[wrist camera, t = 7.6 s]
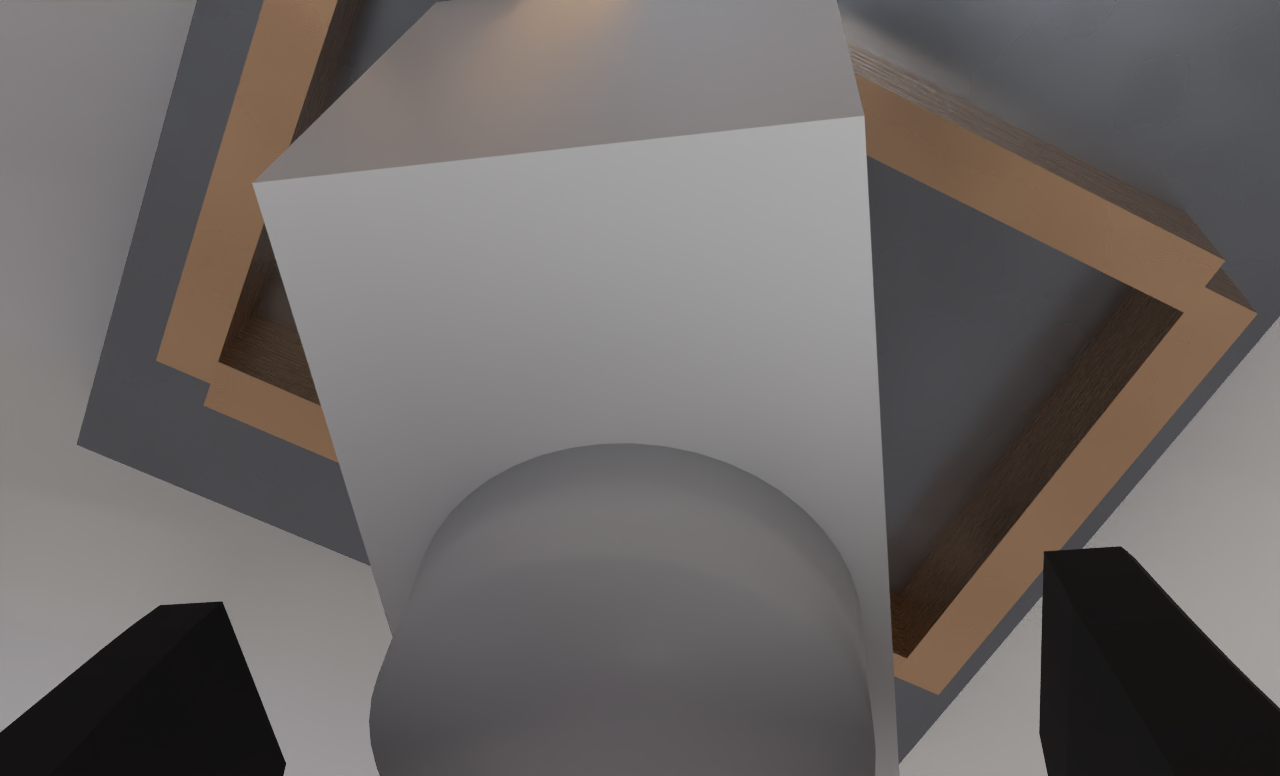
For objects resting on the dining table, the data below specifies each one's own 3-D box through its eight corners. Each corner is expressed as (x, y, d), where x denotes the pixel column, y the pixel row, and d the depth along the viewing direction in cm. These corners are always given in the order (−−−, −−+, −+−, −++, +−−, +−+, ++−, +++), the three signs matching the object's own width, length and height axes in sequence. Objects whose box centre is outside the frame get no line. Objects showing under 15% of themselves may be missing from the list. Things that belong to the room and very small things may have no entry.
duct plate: (104, 412, 21) (28, 497, 19) (368, -520, 14) (296, -557, 12) (881, 737, 23) (894, 847, 21) (1434, 66, 16) (1539, 126, 14)
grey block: (566, 602, 19) (462, 1092, 12) (437, 2, 14) (168, 265, 8) (865, 586, 18) (924, 1093, 12) (824, -49, 14) (882, 193, 7)
